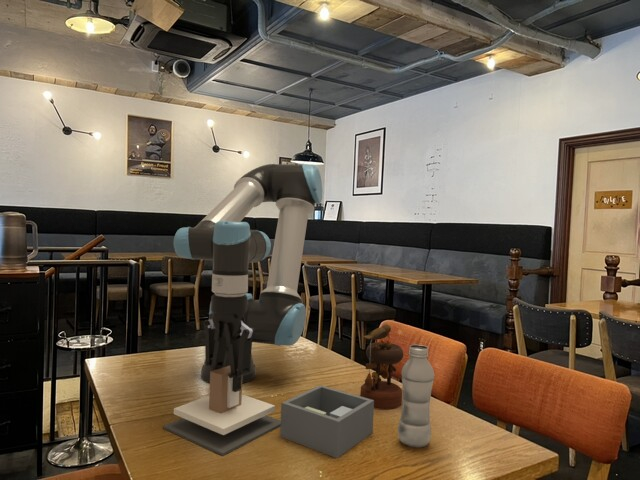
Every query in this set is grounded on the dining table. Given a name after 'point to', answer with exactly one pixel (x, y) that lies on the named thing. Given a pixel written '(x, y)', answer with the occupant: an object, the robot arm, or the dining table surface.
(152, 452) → the dining table surface
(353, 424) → the box
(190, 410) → the lid
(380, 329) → the music box
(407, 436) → the plastic bottle
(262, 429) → the mat
